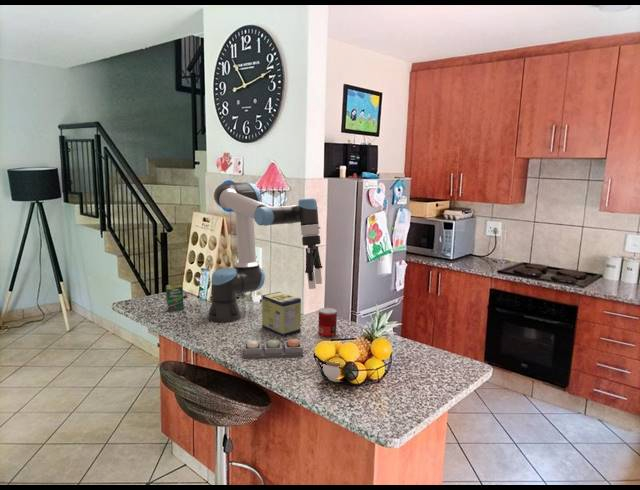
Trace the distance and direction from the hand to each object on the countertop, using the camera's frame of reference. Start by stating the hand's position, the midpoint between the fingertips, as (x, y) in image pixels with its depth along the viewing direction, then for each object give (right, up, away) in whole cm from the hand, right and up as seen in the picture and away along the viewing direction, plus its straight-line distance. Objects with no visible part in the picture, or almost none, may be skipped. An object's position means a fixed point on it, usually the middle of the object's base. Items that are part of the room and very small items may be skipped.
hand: (315, 286), depth 189 cm
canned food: (+5, -23, +13) cm, 26 cm away
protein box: (-16, -21, +16) cm, 31 cm away
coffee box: (-71, -16, +39) cm, 83 cm away
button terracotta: (-9, -23, -8) cm, 26 cm away
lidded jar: (+8, -30, -29) cm, 42 cm away
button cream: (-25, -23, -10) cm, 36 cm away
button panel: (-17, -26, -9) cm, 32 cm away
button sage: (-17, -23, -9) cm, 30 cm away
